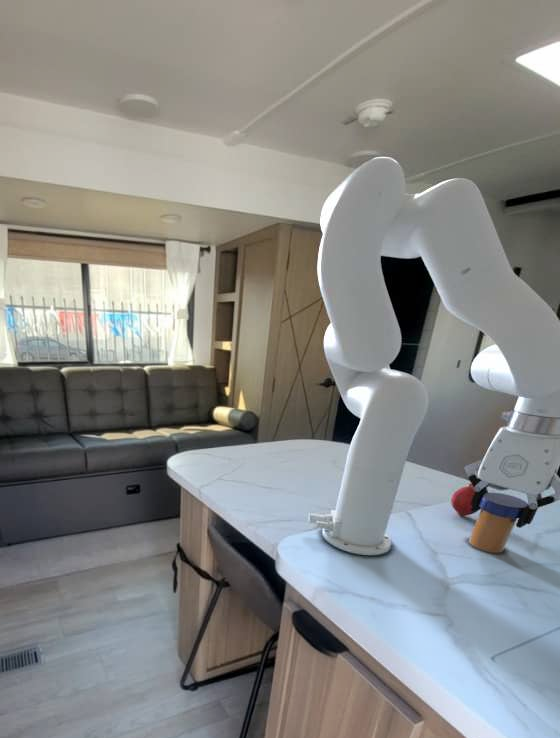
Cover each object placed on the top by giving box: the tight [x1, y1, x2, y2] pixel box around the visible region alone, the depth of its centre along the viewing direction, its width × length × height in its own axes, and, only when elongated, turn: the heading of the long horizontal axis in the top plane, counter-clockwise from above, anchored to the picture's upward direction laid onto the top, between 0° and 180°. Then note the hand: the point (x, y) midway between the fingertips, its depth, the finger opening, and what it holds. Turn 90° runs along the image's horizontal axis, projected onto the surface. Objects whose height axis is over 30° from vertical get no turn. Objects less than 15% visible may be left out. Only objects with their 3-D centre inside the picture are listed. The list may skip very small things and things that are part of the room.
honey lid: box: [479, 492, 528, 519], centre depth 76 cm, size 7×7×2 cm
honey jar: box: [468, 509, 518, 554], centre depth 77 cm, size 6×6×10 cm
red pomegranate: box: [450, 482, 478, 517], centre depth 90 cm, size 6×6×8 cm
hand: (497, 516), depth 77 cm, fingers closed on honey lid, 6 cm apart
